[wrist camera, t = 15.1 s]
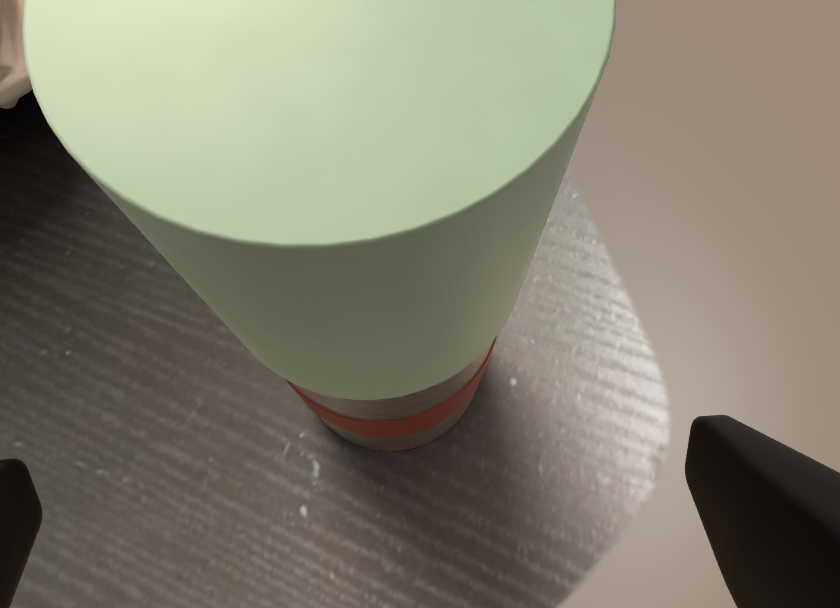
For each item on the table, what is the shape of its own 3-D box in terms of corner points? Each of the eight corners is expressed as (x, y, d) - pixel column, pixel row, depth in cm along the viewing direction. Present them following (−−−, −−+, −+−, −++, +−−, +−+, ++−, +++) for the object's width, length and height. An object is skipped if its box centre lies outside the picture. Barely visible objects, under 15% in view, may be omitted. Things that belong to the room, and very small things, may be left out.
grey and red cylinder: (519, 373, 22) (579, 269, 14) (375, 492, 21) (341, 459, 12) (406, 244, 24) (396, 79, 15) (265, 348, 22) (168, 230, 14)
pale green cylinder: (472, 445, 12) (528, 337, 6) (163, 342, 13) (-101, 141, 6) (557, 163, 14) (670, -155, 8) (286, 88, 15) (179, -262, 9)
